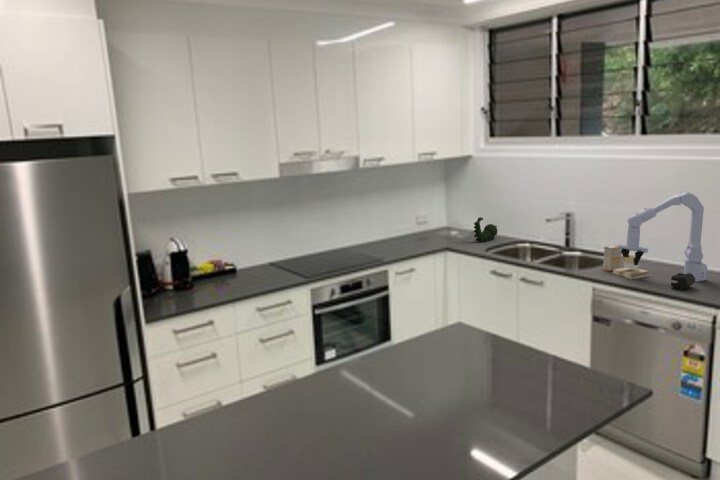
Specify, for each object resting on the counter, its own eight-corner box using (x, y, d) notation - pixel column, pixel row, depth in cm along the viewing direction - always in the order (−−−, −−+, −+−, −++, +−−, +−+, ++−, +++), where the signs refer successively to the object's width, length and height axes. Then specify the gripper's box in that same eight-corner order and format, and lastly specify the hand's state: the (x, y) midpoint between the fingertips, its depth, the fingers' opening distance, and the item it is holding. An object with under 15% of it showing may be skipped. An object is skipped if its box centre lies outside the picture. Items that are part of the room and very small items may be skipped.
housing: (632, 269, 274) (633, 258, 273) (623, 267, 277) (624, 257, 276) (638, 266, 278) (639, 256, 277) (629, 265, 282) (630, 254, 281)
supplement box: (613, 267, 294) (615, 244, 292) (621, 269, 290) (622, 246, 287) (602, 269, 292) (603, 245, 289) (609, 271, 287) (610, 247, 285)
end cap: (686, 292, 248) (687, 278, 247) (670, 288, 253) (671, 275, 252) (694, 287, 254) (696, 274, 253) (678, 284, 260) (679, 271, 258)
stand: (649, 276, 276) (649, 271, 275) (632, 279, 271) (632, 274, 270) (629, 271, 286) (629, 266, 286) (612, 273, 282) (613, 269, 281)
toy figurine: (482, 246, 366) (502, 237, 382) (481, 219, 361) (501, 212, 377) (470, 244, 373) (491, 236, 389) (469, 218, 368) (490, 210, 384)
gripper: (651, 239, 272) (649, 265, 274) (622, 235, 283) (620, 260, 285) (645, 241, 267) (643, 267, 270) (616, 237, 278) (614, 262, 281)
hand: (631, 264), depth 277 cm, fingers closed on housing, 5 cm apart
